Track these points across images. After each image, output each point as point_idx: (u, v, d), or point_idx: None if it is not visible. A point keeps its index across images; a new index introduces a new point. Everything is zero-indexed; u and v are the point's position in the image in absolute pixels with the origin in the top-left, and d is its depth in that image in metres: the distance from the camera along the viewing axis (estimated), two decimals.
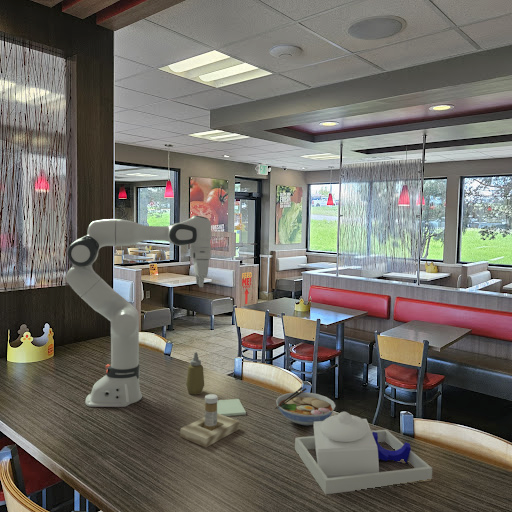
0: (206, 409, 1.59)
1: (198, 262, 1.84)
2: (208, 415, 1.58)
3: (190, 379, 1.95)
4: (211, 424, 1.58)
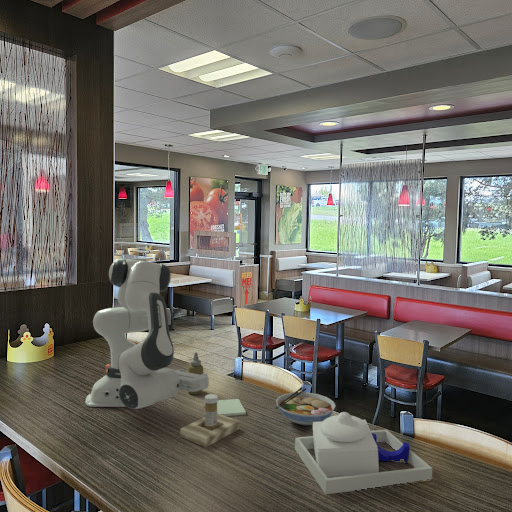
0: (206, 409, 1.59)
1: None
2: (208, 415, 1.58)
3: None
4: (211, 424, 1.58)
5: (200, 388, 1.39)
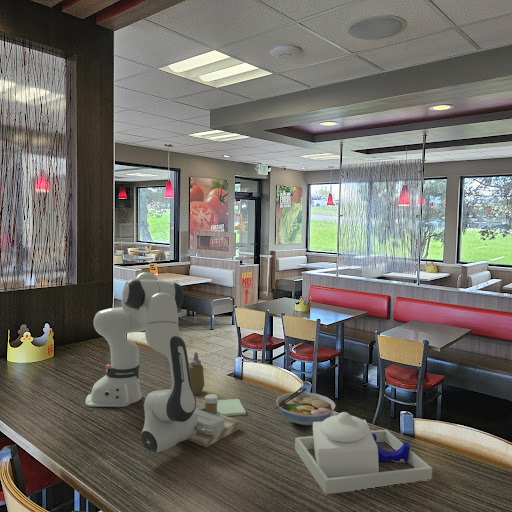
0: (206, 409, 1.59)
1: None
2: None
3: None
4: None
5: (216, 431, 1.48)
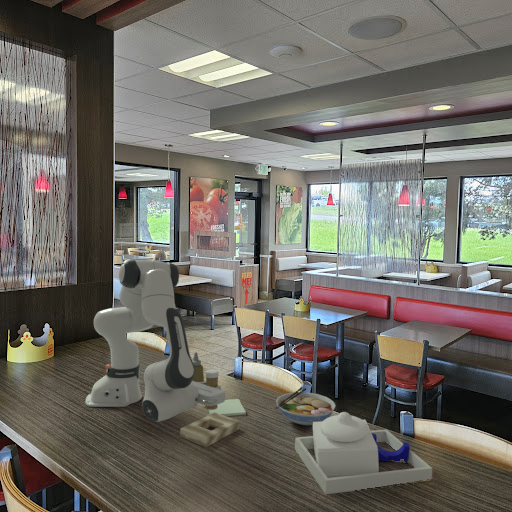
0: (207, 384, 1.59)
1: None
2: None
3: None
4: None
5: (217, 402, 1.48)
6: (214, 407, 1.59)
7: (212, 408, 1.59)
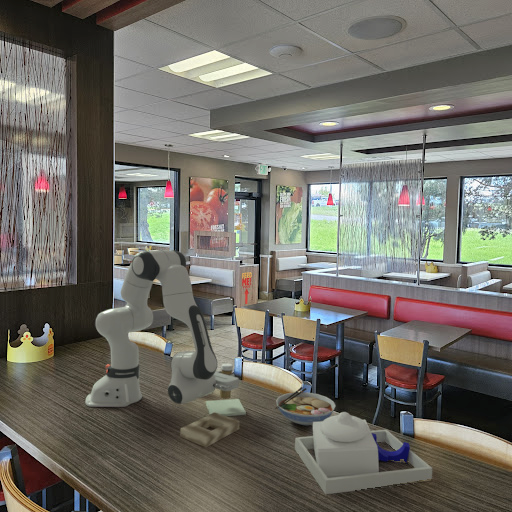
0: None
1: None
2: None
3: None
4: None
5: (232, 388, 1.69)
6: (227, 396, 1.80)
7: (226, 397, 1.79)
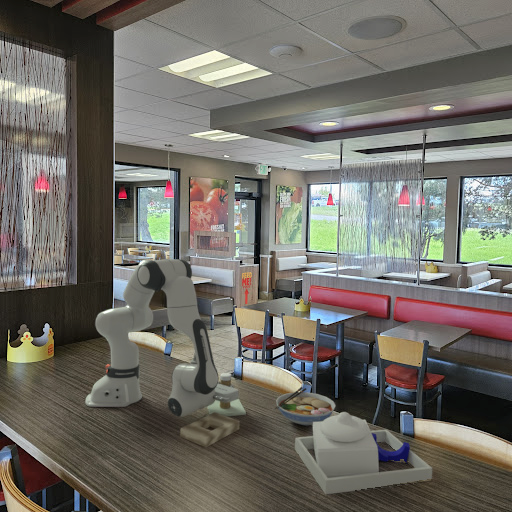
0: None
1: None
2: None
3: None
4: None
5: (232, 399, 1.69)
6: (227, 406, 1.80)
7: (226, 407, 1.80)
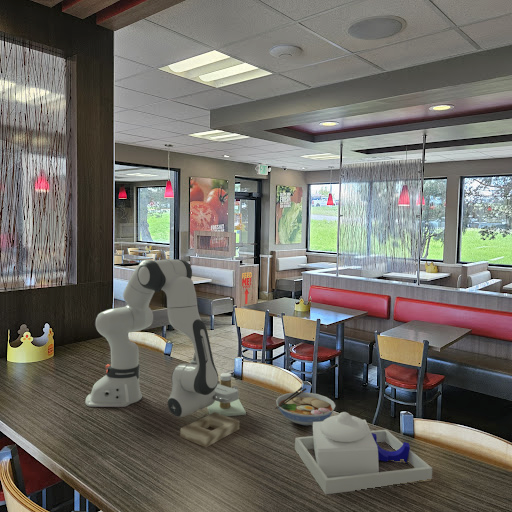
0: None
1: None
2: None
3: None
4: None
5: (231, 400, 1.69)
6: (227, 406, 1.80)
7: (226, 407, 1.80)
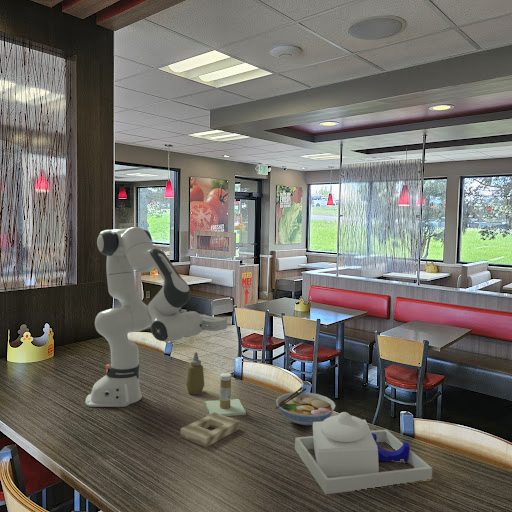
0: (221, 385, 1.80)
1: None
2: (223, 391, 1.79)
3: (190, 379, 1.95)
4: (225, 398, 1.79)
5: (219, 328, 1.62)
6: (227, 406, 1.80)
7: (226, 407, 1.80)
